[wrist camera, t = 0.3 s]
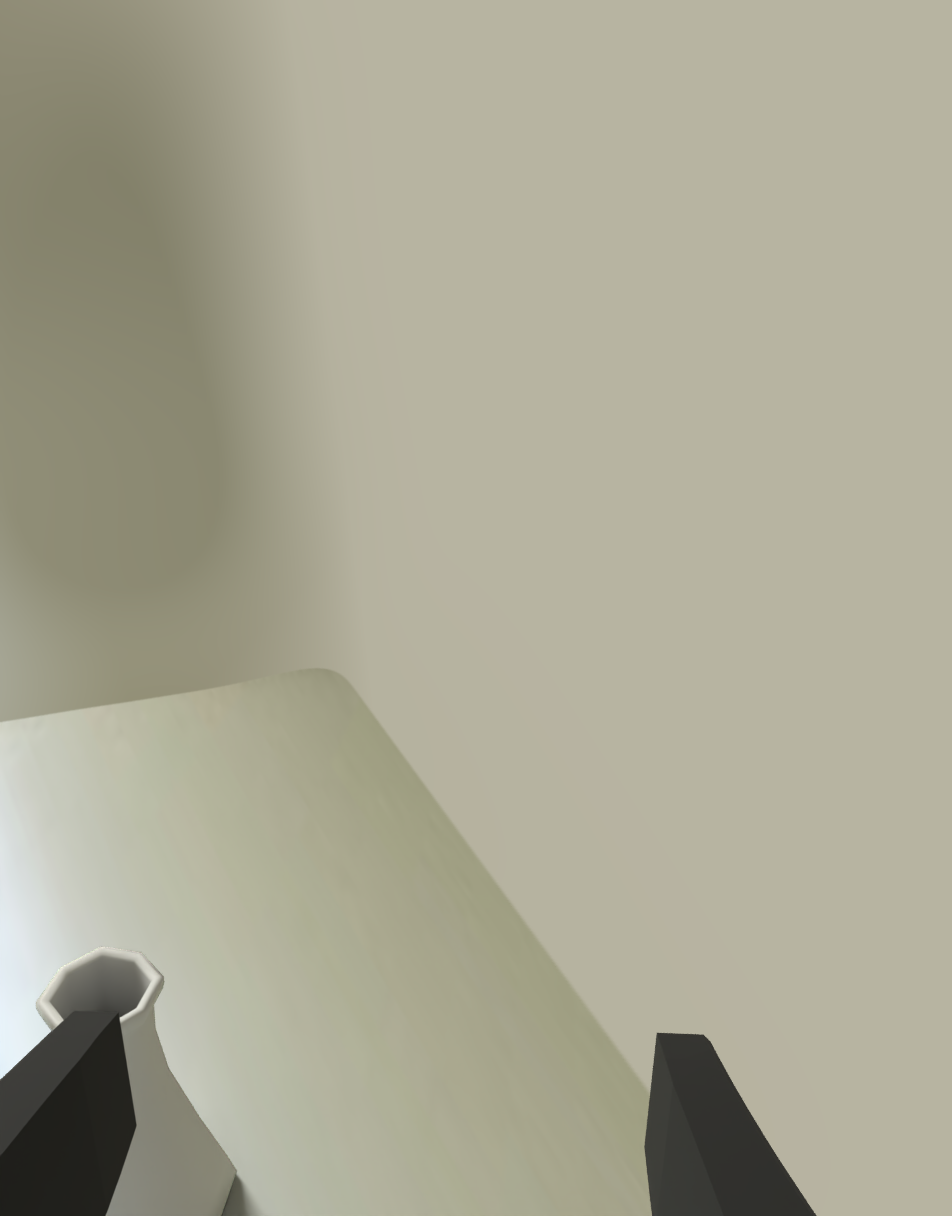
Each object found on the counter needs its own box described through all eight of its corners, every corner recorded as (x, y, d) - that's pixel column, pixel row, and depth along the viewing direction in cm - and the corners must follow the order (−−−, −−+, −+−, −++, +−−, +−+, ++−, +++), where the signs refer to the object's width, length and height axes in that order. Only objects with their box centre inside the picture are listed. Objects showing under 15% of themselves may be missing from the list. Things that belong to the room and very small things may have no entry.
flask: (273, 1165, 30) (280, 952, 27) (121, 1389, 24) (101, 1153, 20) (116, 1078, 33) (101, 871, 29) (-60, 1263, 27) (-109, 1029, 23)
